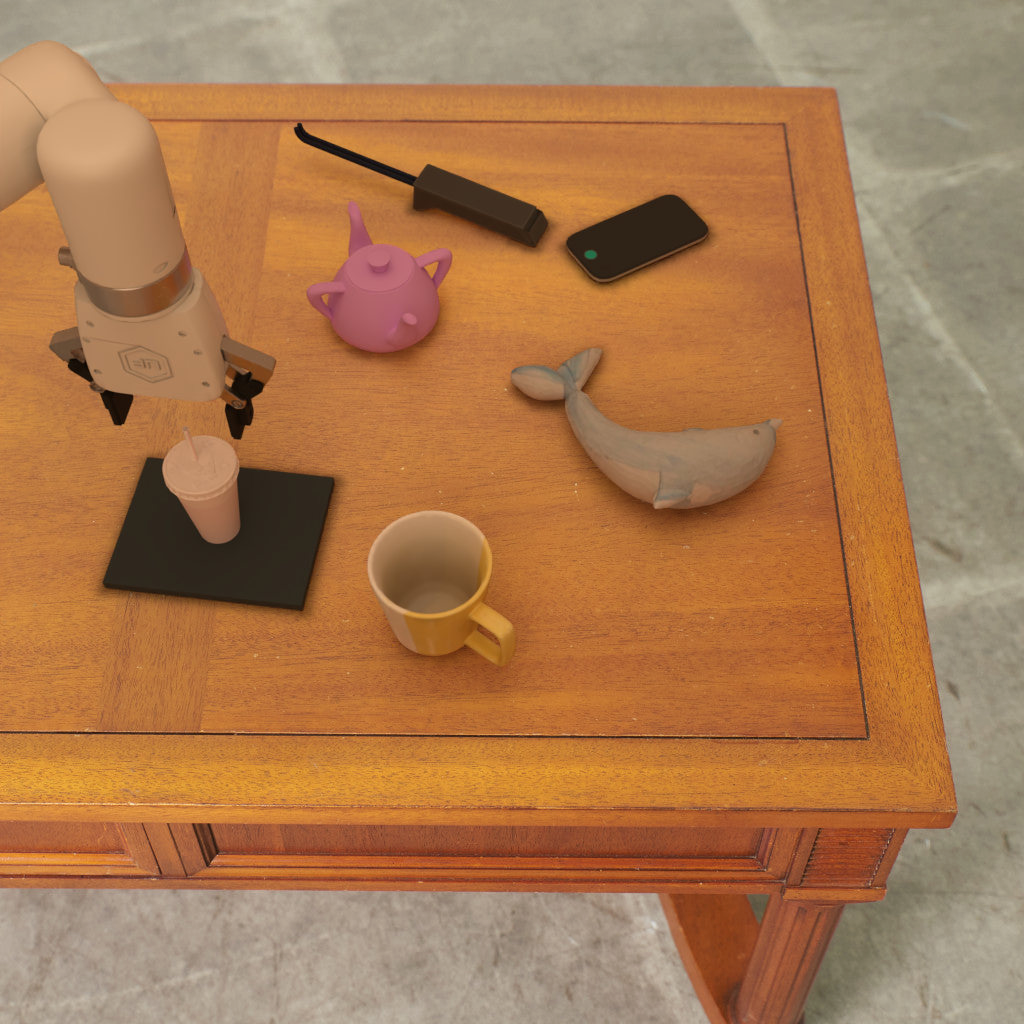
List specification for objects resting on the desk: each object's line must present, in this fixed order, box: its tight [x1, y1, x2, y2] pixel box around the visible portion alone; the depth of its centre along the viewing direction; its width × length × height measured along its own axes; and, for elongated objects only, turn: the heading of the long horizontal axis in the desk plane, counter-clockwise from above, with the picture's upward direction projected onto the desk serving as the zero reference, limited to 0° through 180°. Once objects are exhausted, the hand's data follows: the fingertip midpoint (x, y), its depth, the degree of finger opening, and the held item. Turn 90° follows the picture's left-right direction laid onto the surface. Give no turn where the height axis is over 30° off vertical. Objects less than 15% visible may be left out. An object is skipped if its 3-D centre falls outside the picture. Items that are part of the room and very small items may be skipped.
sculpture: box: [509, 347, 784, 510], centre depth 123 cm, size 18×8×25 cm
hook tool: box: [293, 122, 549, 248], centre depth 141 cm, size 4×4×30 cm
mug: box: [366, 510, 517, 668], centre depth 107 cm, size 14×10×10 cm
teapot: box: [305, 200, 453, 354], centre depth 128 cm, size 12×14×9 cm
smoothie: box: [162, 425, 240, 544], centre depth 111 cm, size 6×6×14 cm
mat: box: [102, 456, 336, 612], centre depth 117 cm, size 18×14×1 cm
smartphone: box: [565, 194, 710, 283], centre depth 138 cm, size 8×1×15 cm
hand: (182, 418), depth 103 cm, fingers open, 9 cm apart
